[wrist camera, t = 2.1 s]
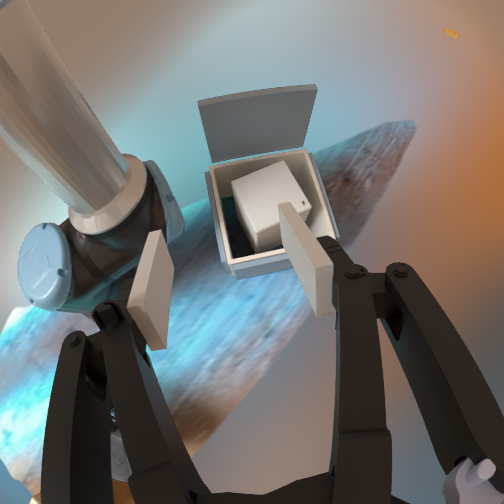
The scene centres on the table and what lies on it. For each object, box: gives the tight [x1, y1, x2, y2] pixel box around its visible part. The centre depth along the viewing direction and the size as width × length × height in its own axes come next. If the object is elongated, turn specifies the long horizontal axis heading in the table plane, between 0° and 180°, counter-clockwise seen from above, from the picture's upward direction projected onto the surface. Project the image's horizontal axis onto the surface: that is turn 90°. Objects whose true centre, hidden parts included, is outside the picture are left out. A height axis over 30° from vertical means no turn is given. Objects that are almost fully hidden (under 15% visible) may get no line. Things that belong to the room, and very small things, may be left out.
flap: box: [197, 84, 318, 163], centre depth 39 cm, size 1×15×14 cm, turn 103°
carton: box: [205, 149, 340, 280], centre depth 50 cm, size 17×18×12 cm
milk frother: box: [111, 398, 132, 482], centre depth 39 cm, size 14×16×15 cm
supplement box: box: [231, 160, 312, 254], centre depth 48 cm, size 9×9×15 cm
